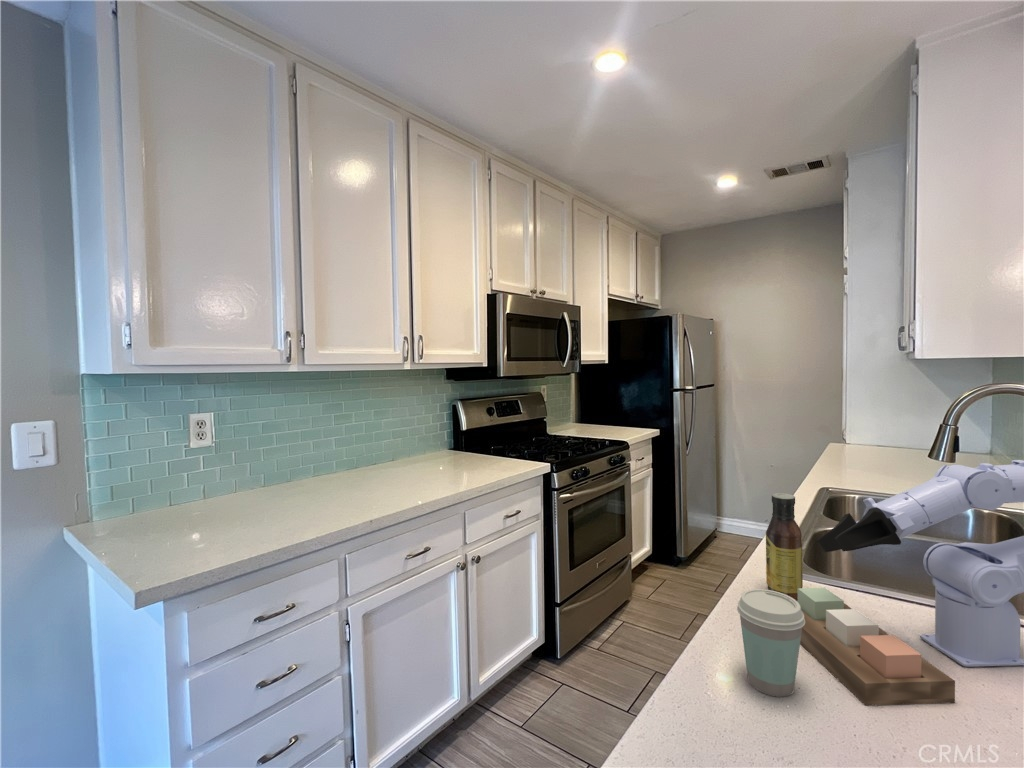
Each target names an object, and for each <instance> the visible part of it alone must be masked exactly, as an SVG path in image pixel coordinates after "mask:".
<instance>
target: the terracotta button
mask: <svg viewBox="0 0 1024 768" xmlns="http://www.w3.org/2000/svg"><path fill="white" fill-rule="evenodd" d="M921 657H922V653H920V652H919V651H917V650H916V649H914V648H913V647H911V646H910V645H908V644H907V643H905V642H904V641H902V640H901V639H900V638H898V637H897V636H895V635H894V634H889V635H872V636H860V658H861V659H862V660H863V661H864V662H866V663H867V664H868V665H869V666H871V667H872V668H873V669H874V670H875V671H877V672H878V673H879V674H880V675H881V676H883V677H884V678H885V679H898V678H921Z"/></svg>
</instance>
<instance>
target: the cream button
mask: <svg viewBox="0 0 1024 768" xmlns="http://www.w3.org/2000/svg"><path fill="white" fill-rule="evenodd" d="M879 626H880V625H879V624H878V623H876V622H875V621H873V620H872V619H871V618H870V617H868V616H866V615H865V614H863V613H862V612H860V611H859V610H858V609H856V608H852V609H838V610H826V630H827V631H828V632H829V633H830V634H832V635H833V636H834V637H835V638H837V639H838V640H839V641H840V642H841V643H843V644H844V645H845V646H846V647H850V646H860V636H872V635H879V628H880V627H879Z"/></svg>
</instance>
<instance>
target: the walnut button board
mask: <svg viewBox="0 0 1024 768" xmlns="http://www.w3.org/2000/svg"><path fill="white" fill-rule="evenodd" d="M844 609H853V608H852V607H850V606H849V605H848V604H846V603H845V602H844ZM802 612H803V614H804V619H805V625H804V626H803V627H802V632H801V640H800V646H802V647H803V649H805V650H806V651H807V652H808V653H809V654H810V655H812V656H813V657H814V659H816V660H817V661H818V662H819V663H820V664H821V665H822V666H823V667H824V668H825V669H826V670H827V671H828V672H829V673H830V674H832V675H833V676H834V677H835V679H836V680H838V681H839V682H840V683H841V684H842V685H843V686H844V687H845V688H846V689H848V691H850V693H852V694H853V695H854V696H855V697H856V698H857V699H858V700H859V701H860V702H861V703H863V704H864V705H865V706H891V705H892V706H894V705H898V706H899V705H928V704H929V705H930V704H955V703H956V700H955V699H956V680H955V679H953V678H952V677H950V676H949V675H948V674H946V673H945V672H943V671H942V670H940V669H939V668H937V667H936V666H934V665H933V664H932V663H931V662H928V660H926V659H925V658H923V657H922V656H921V678H898V679H885V678H884V677H883V676H881V675H880V674H879V673H878V672H877V671H875V670H874V669H873V668H872V667H871V666H869V665H868V664H867V663H866V662H864V661H863V660H862V659H861V658H860V646H850V647H846V646H845V645H844V644H843V643H841V642H840V641H839V640H838V639H837V638H835V637H834V636H833V635H832V634H830V633H829V632H828V631H827V630H826V620H813V619H812V618H811V617H810V616H809V615H807V614H806V613H805V612H804V611H803V610H802ZM879 635H890V634H888V633H887V632H886V631H884V630H883V629H882V628H880V627H879Z"/></svg>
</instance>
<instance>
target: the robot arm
mask: <svg viewBox="0 0 1024 768" xmlns="http://www.w3.org/2000/svg"><path fill="white" fill-rule="evenodd" d="M862 502H863V504H864V505H865V509H864V512H863V514H862V516H861V518H860V519H859V520H857V521H856V520H855V518H854V517H853V516H852V514H851V513H846V514H844V515H843V516H842V517H841V519H840V520H839V522H838V523H837V524H836V525H835V526H834V527H833V528H832V529H830V530H829V531H827V532H825V533H824V534H823V535H821V536H820V537H819V538H818V539H817V540H816V541H817V543H818V545H819V546H820V547H821V549H822V550H823V552H825V553H830V552H831V553H832V552H835V551H836V552H837V551H840V550H842V552H851V551H856V550H860V549H864V548H868V547H875V546H880V545H889V546H890V545H892V546H899V545H901V544H902V541H901V540H902V539H903V538H906V537H908V536H910V535H913V534H914V533H915V534H916V533H917V532H919V531H922V530H924V529H927V528H928V527H931V526H933V525H936V524H939V523H941V522H943V521H945V520H948V519H950V518H952V517H955V516H958V515H960V514H962V513H965V512H967V511H969V510H972V509H973V508H976V509H980V510H989V511H995V510H997V509H999V508H1000V507H1002V506H1003V505H1004V504H1015V503H1016V504H1017V503H1018V504H1019V503H1024V460H1023V459H1014V460H1011V464H998V465H995V464H992V463H988V462H983V463H979V466H976V467H972V466H966V465H962V464H952V465H947V464H944V465H942V466H941V467H940V468H938V470H937V471H936V472H935V475H934V476H933V477H932V478H931V479H929V480H926V481H925V482H923V483H921V484H917V485H916V486H912V487H911V488H909V489H906V490H904V491H902V492H899V493H897V494H895V495H892V496H890V497H888V498H885V499H884V500H880V501H879V502H878V501H877V503H876V501H875V500H874V499H873V497H868V498H865V499H863V500H862ZM922 561H923V568H924V570H925V572H926V573H927V574H928V576H930V577H931V578H932V585H933V586H934V587H935V592H934V593H935V594H934V596H935V598H934V601H935V602H934V603H935V604H934V606H935V610H934V613H935V614H934V615H935V616H934V624H935V625H934V633H928V634H927V633H926V634H920V635H919V638H920V639H921V640H923V641H924V642H926V643H927V644H929V645H931V646H932V647H934V648H935V649H937V650H938V651H940V653H943V654H944V655H945V656H947V657H949V658H950V659H952V660H954V662H956V663H958V664H959V665H960V666H963V667H966V668H967V667H969V668H970V667H971V668H972V667H974V668H975V667H1001V666H1002V667H1003V666H1004V667H1005V666H1024V659H1023V658H1021V623H1022V622H1021V618H1020V615H1019V613H1018V610H1017V609H1016V607H1015V606H1014V604H1013V603H1011V602H1010V599H1012V598H1013V597H1015V596H1016V595H1020V594H1023V593H1024V535H1021V536H1018V537H1014V538H1010V539H1007V540H1003V541H998V542H996V543H980V542H965V541H964V542H961V543H955V544H954V543H949V542H938V543H935V544H933V545H932V546H930V547H929V548H928V549H927V550H926V552H925V553H924V556H923V560H922Z"/></svg>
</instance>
